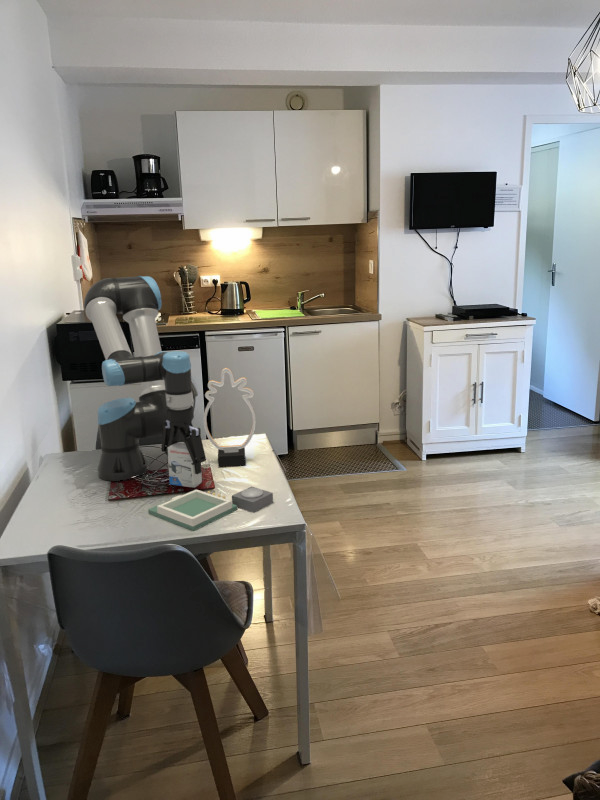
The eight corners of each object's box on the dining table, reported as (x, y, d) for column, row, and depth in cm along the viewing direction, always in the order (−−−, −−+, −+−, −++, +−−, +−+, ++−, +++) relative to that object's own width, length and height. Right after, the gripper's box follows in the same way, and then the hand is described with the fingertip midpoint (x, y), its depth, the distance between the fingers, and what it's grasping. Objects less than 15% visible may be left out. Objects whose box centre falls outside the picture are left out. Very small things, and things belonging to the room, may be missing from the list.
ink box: (168, 485, 190) (166, 447, 187) (177, 478, 194) (174, 441, 191) (195, 488, 187) (193, 450, 184) (203, 481, 192) (200, 444, 189)
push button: (232, 505, 179) (231, 493, 178) (252, 496, 185) (251, 484, 184) (253, 512, 174) (252, 500, 173) (273, 502, 180) (272, 490, 179)
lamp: (257, 456, 218) (252, 363, 210) (258, 465, 209) (253, 369, 201) (206, 459, 216) (200, 366, 208) (205, 468, 208) (199, 372, 200)
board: (148, 513, 175) (147, 502, 174) (193, 494, 187) (192, 484, 186) (193, 530, 164) (192, 519, 163) (237, 509, 176) (236, 498, 175)
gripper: (144, 402, 188) (150, 474, 194) (196, 416, 175) (201, 492, 181) (164, 397, 194) (170, 466, 200) (216, 409, 180) (220, 484, 186)
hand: (184, 479), depth 190 cm, fingers closed on ink box, 9 cm apart
